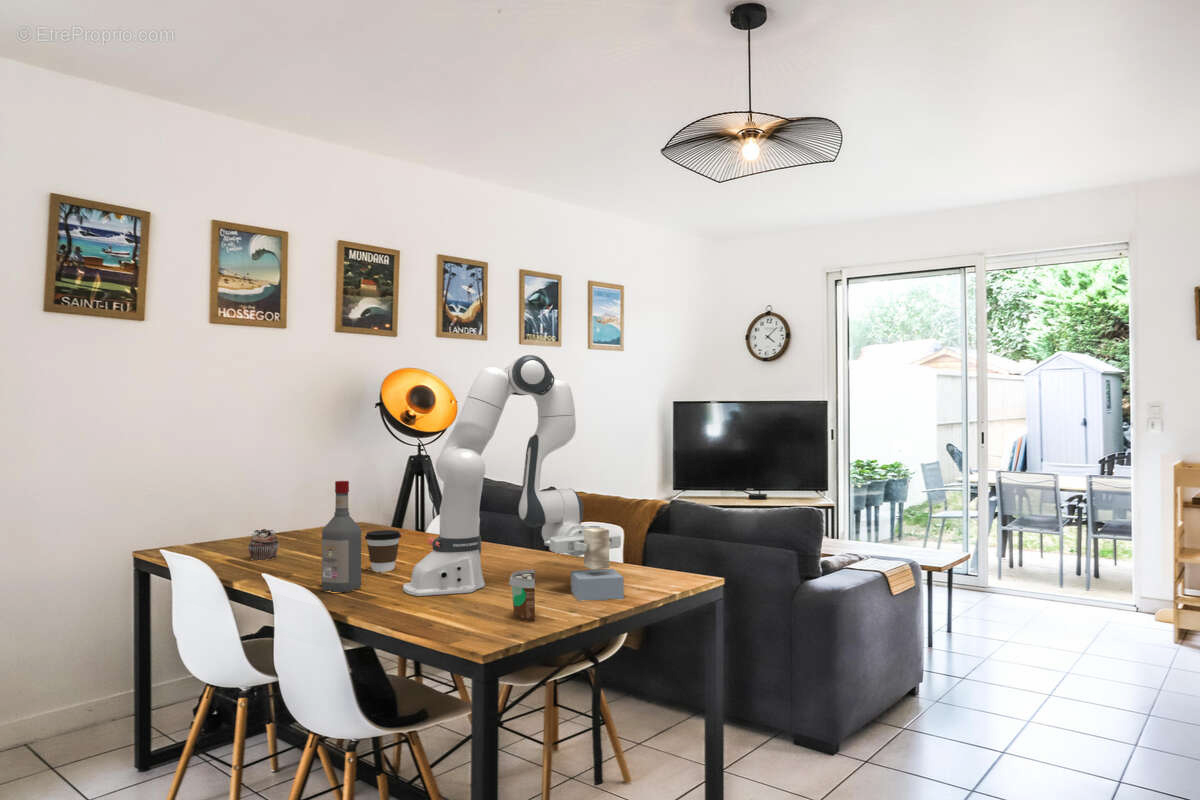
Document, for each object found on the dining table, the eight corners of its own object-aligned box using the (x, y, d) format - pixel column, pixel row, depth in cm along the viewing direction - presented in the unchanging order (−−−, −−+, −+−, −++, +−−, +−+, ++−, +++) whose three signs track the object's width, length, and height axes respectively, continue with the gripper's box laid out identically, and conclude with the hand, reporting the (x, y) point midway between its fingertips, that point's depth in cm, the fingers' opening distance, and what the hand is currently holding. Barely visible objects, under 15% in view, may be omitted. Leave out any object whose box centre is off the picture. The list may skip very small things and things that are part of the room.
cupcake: (284, 556, 268) (284, 527, 268) (267, 562, 258) (267, 531, 258) (259, 556, 269) (259, 527, 270) (241, 561, 260) (241, 531, 260)
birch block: (592, 569, 205) (592, 531, 205) (584, 566, 210) (584, 529, 210) (609, 567, 208) (609, 530, 208) (600, 564, 212) (600, 527, 212)
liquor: (343, 594, 210) (344, 483, 211) (316, 591, 214) (317, 482, 214) (365, 587, 219) (366, 480, 219) (339, 585, 222) (340, 479, 223)
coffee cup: (385, 566, 250) (385, 528, 250) (408, 570, 243) (408, 531, 244) (357, 572, 241) (357, 533, 241) (380, 576, 234) (380, 536, 235)
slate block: (578, 602, 201) (578, 579, 201) (570, 592, 213) (570, 570, 213) (623, 600, 204) (623, 577, 204) (613, 590, 215) (613, 568, 216)
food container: (509, 610, 192) (509, 569, 193) (534, 609, 193) (534, 569, 193) (508, 623, 180) (508, 579, 180) (534, 622, 181) (534, 579, 181)
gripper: (541, 531, 215) (562, 537, 203) (606, 526, 225) (630, 532, 213) (541, 553, 215) (562, 562, 203) (606, 547, 225) (630, 555, 213)
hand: (598, 546), depth 208 cm, fingers closed on birch block, 5 cm apart
